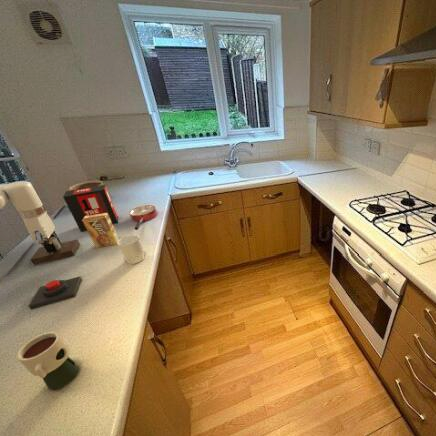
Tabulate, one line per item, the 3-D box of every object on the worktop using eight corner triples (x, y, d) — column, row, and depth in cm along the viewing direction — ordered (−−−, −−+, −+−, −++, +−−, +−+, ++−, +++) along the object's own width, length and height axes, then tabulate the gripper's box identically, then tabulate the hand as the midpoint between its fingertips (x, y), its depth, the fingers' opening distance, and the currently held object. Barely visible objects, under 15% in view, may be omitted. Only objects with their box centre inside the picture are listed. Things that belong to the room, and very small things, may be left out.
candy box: (119, 240, 118) (107, 212, 110) (117, 244, 114) (105, 216, 107) (98, 243, 115) (84, 215, 108) (95, 248, 112) (81, 219, 104)
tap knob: (59, 250, 106) (53, 239, 103) (46, 252, 104) (40, 242, 101) (62, 245, 109) (57, 235, 107) (50, 247, 107) (44, 237, 105)
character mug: (79, 388, 58) (53, 356, 52) (40, 407, 55) (8, 375, 49) (84, 352, 66) (62, 321, 60) (51, 367, 63) (24, 334, 57)
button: (45, 292, 83) (43, 288, 82) (49, 285, 86) (47, 281, 85) (59, 288, 84) (56, 285, 84) (62, 282, 87) (60, 278, 86)
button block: (31, 309, 80) (25, 302, 79) (42, 290, 88) (37, 283, 87) (75, 297, 85) (70, 289, 83) (82, 279, 93) (78, 272, 91)
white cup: (150, 256, 105) (143, 237, 100) (132, 267, 99) (123, 247, 94) (139, 251, 109) (132, 233, 104) (121, 261, 103) (113, 241, 98)
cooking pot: (83, 198, 167) (76, 181, 161) (115, 193, 173) (108, 177, 167) (69, 212, 146) (59, 194, 140) (105, 207, 152) (97, 189, 146)
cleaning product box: (117, 217, 140) (104, 184, 130) (118, 223, 133) (104, 189, 124) (82, 225, 132) (65, 191, 122) (81, 232, 125) (63, 196, 116)
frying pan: (160, 233, 122) (156, 222, 119) (130, 240, 117) (126, 229, 114) (156, 210, 147) (153, 200, 144) (132, 215, 142) (128, 205, 139)
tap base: (33, 265, 101) (29, 259, 100) (42, 252, 109) (38, 247, 108) (74, 255, 107) (71, 250, 105) (80, 244, 115) (77, 239, 113)
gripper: (29, 205, 103) (50, 241, 112) (10, 222, 90) (35, 261, 98) (52, 202, 106) (70, 237, 115) (36, 218, 93) (59, 256, 101)
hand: (54, 247), depth 106 cm, fingers closed on tap knob, 4 cm apart
